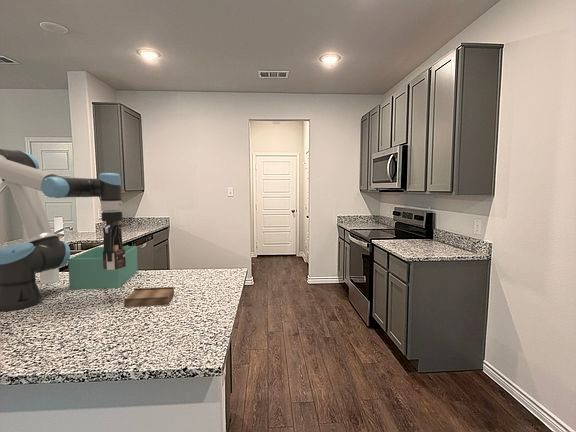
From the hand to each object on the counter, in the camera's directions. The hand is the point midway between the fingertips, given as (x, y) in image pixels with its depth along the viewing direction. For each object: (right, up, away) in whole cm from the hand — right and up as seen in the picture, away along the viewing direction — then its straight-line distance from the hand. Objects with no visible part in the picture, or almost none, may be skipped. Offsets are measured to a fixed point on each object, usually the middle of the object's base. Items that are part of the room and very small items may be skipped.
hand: (114, 267), depth 134 cm
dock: (+15, -14, 0) cm, 20 cm away
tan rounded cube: (0, +7, -1) cm, 7 cm away
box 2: (0, -1, 0) cm, 1 cm away
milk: (-46, -12, +26) cm, 54 cm away
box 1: (-20, -12, +31) cm, 38 cm away
